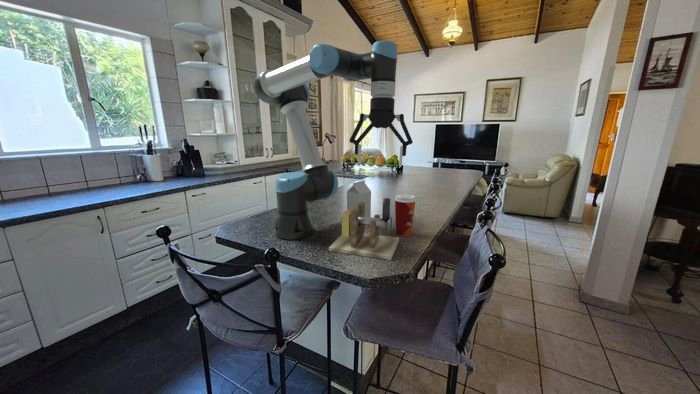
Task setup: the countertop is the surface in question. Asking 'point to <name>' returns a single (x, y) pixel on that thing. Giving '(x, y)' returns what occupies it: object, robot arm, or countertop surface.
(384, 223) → the silver bent bar
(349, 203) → the milk carton
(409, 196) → the coffee cup
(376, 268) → the countertop surface
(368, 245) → the wooden stand with blocks
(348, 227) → the spacer
